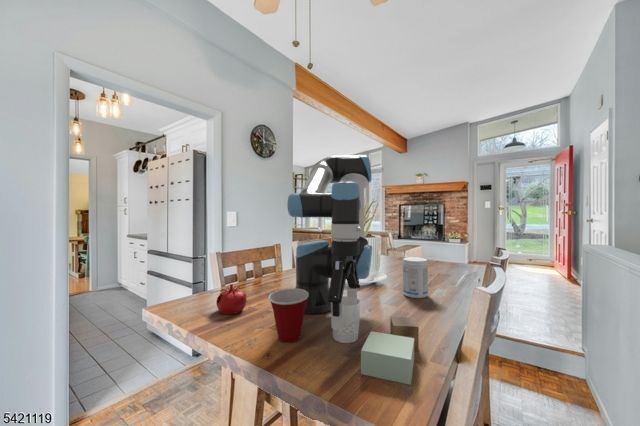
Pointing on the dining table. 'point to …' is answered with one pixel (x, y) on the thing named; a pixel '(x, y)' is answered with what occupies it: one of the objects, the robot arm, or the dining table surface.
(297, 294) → the plastic cup
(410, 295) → the supplement tub
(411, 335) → the walnut cube
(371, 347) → the base block
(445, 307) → the dining table surface
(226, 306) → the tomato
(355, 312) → the white cup
